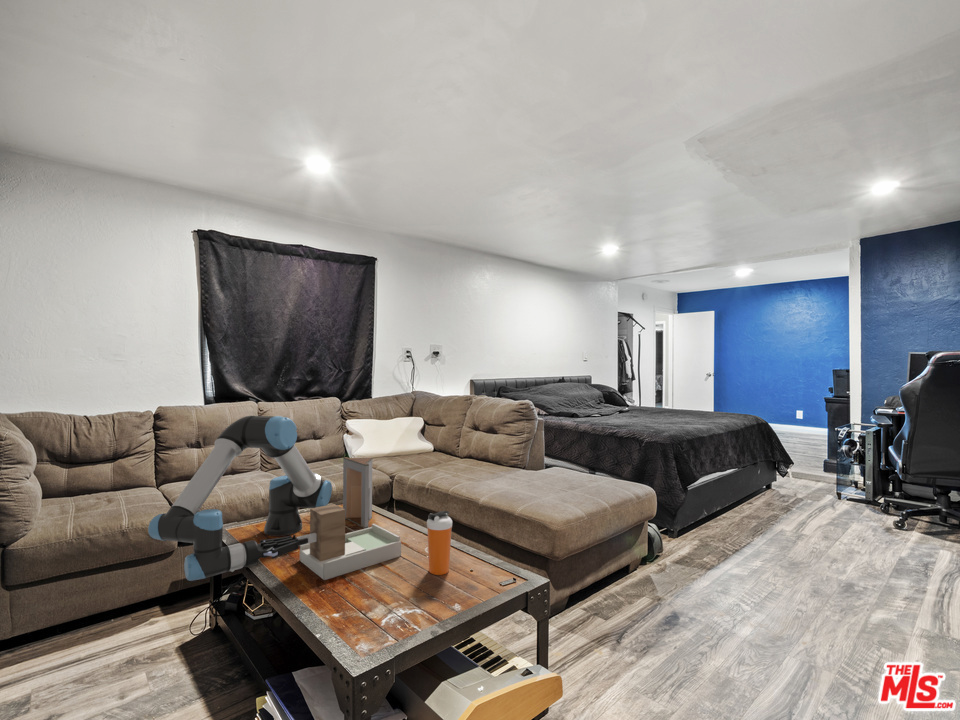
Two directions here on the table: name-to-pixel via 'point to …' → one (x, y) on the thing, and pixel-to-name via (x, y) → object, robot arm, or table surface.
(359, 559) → the box
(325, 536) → the walnut block
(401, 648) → the table surface
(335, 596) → the table surface
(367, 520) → the cabinet
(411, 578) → the table surface
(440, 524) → the shaker bottle
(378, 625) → the table surface
